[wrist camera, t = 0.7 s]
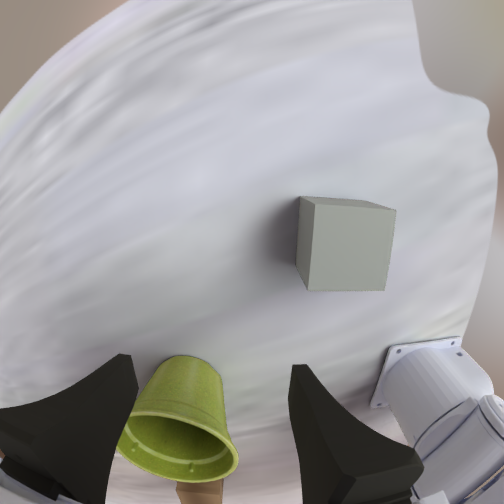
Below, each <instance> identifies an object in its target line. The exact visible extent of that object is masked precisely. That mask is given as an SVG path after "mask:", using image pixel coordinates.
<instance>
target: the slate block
mask: <svg viewBox="0 0 504 504" xmlns="http://www.w3.org/2000/svg"><path fill="white" fill-rule="evenodd" d="M395 219H396V210H394V209H391V208H388V207H384V206H381V205H378V204H375V203H371V202H368V201H362V200H350V199H337V198H323V197H307V196H300V203H299V220H298V235H297V249H296V263H295V265H296V267H297V269H298V271H299V273H300V276H301V278H302V280H303V282H304V284H305V286H306V288H307V291H385V286H386V280H387V275H388V269H389V263H390V257H391V250H392V243H393V236H394V228H395Z"/></svg>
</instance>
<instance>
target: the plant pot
mask: <svg viewBox="0 0 504 504" xmlns="http://www.w3.org/2000/svg"><path fill="white" fill-rule="evenodd" d="M116 449H117V451H118V452H119V453H120V454H121V455H122V456H123V457H124V458H126V459H127V460H128V461H129V462H131V463H132V464H134V465H135V466H137V467H139V468H140V469H143V470H144V471H147V472H149V473H151V474H154V475H156V476H159V477H162V478H166V479H170V480H175V481H180V482H189V483H195V482H197V483H199V482H209V481H215V480H218V479H222V478H224V477H226V476H228V475H229V474H231V473H232V472H233V471H234V470H235V469H236V467H237V465H238V452H237V450H236V448H235V446H234V445H233V443H232V441H231V438H230V435H229V433H228V432H227V424H226V416H225V407H224V396H223V384H222V379H221V377H220V375H219V374H218V373H217V372H216V371H215V370H214V369H213V368H212V367H211V366H210V365H209V364H208V363H207V362H205V361H203V360H200V359H198V358H194V357H190V356H175V357H172V358H170V359H169V360H166V361H165V362H163V363H162V364H160V366H159V367H158V369H157V370H156V372H155V373H154V375H153V376H152V377H151V379H150V380H149V382H148V383H147V385H146V386H145V388H144V389H143V391H142V392H141V394H140V395H139V397H138V398H137V400H136V401H135V404H134V407H133V409H132V412H131V414H130V416H129V418H128V421H127V423H126V425H125V427H124V430H123V432H122V434H121V437H120V439H119V441H118V444H117V447H116Z"/></svg>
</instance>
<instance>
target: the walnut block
mask: <svg viewBox="0 0 504 504" xmlns="http://www.w3.org/2000/svg"><path fill="white" fill-rule="evenodd" d="M176 492H177V494H178V496H179V499H180V501H181V503H182V504H222V494H223V478H222V479H218V480H215V481H209V482H199V483H197V482H195V483H189V482H180V481H178V482H177V487H176Z"/></svg>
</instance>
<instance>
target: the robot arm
mask: <svg viewBox="0 0 504 504" xmlns="http://www.w3.org/2000/svg"><path fill="white" fill-rule="evenodd" d="M461 343H462V338H461V337H453V338H447V339H441V340H434V341H427V342H420V343H412V344H404V345H395V346H392V347H390V348H389V350H388V353H387V356H386V360H385V363H384V366H383V369H382V372H381V375H380V378H379V381H378V384H377V386H376V389H375V392H374V395H373V397H372V400H371V403H370V407H371V408H379V407H385V406H390V408H391V410H392V412H393V414H394V416H395V418H396V420H397V422H398V424H399V426H400V428H401V430H402V432H403V434H404V436H405V438H406V440H407V442H408V444H409V446H410V447H409V446H406V445H403V444H401V443H398V442H396V441H393V440H391V439H389V438H387V437H385V436H383V435H381V434H379V433H378V432H376V431H374V430H373V429H371V428H370V427H368V426H366V425H365V424H363V423H362V422H360V421H359V420H358V419H356V418H355V417H354V416H353V415H351V414H350V413H349V412H348V411H347V410H346V409H345V408H344V407H342V406H341V405H340V404H339V403H338V402H337V401H336V400H335V398H334V397H333V396H332V395H331V394H330V393H329V392H328V391H327V390H326V388H325V387H324V386H323V385H322V384H321V382H320V381H319V380H318V379H317V377H316V376H315V375H314V373H313V372H312V371H311V369H310V368H309V366H308V365H307V364H301V365H293V366H292V373H291V380H290V387H289V394H288V404H289V415H290V421H291V425H292V430H293V434H294V439H295V443H296V448H297V452H298V457H299V463H300V473H301V484H302V497H303V504H504V469H503V470H502V471H501V472H500V473H498V474H497V475H496V476H495V477H494V478H493V479H492V480H490V481H489V482H488V483H487V484H486V485H485V486H484V487H482V488H481V489H480V490H479V491H477V492H476V493H475V494H473V495H472V496H470V497H468V498H465V497H467V496H468V495H469V494H470V493H472V492H473V491H474V490H476V489H477V488H478V487H479V486H481V485H482V484H483V483H484V482H485V481H486V480H488V479H489V478H490V477H491V476H492V475H493V474H494V473H496V471H498V470H499V469H500V468H501V467H502V466H503V465H504V400H502V399H501V398H500V397H498V396H496V395H494V389H493V385H492V382H491V379H490V377H489V376H488V374H487V373H486V372H485V371H484V370H483V369H482V368H481V367H480V366H479V365H478V364H477V363H476V362H475V361H474V360H473V359H472V358H471V357H470V356H469V355H468V354H467V353H466V352H465V351H464V350H463V349H462V348H461V347H460V346H461ZM397 350H398V351H397ZM138 389H139V387H138V383H137V379H136V375H135V371H134V367H133V363H132V358H131V355H124V354H118V355H116V356H115V357H113V358H112V359H111V360H109V361H108V362H106V363H105V364H104V365H102V366H101V367H100V368H98V369H97V370H95V371H94V372H93V373H91V374H90V375H88V376H87V377H85V378H84V379H82V380H80V381H79V382H77V383H76V384H74V385H72V386H71V387H69V388H67V389H65V390H63V391H61V392H59V393H57V394H55V395H52V396H50V397H47V398H45V399H42V400H39V401H36V402H33V403H29V404H25V405H21V406H16V407H9V408H1V409H0V449H1V451H2V452H3V453H4V454H5V455H6V456H5V457H4V459H2V458H1V457H0V504H105V499H106V491H107V485H108V479H109V474H110V469H111V465H112V461H113V457H114V454H115V450H116V447H117V444H118V441H119V439H120V437H121V434H122V432H123V430H124V427H125V425H126V423H127V421H128V418H129V416H130V414H131V412H132V409H133V407H134V404H135V400H136V397H137V393H138ZM464 498H465V499H464Z"/></svg>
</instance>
